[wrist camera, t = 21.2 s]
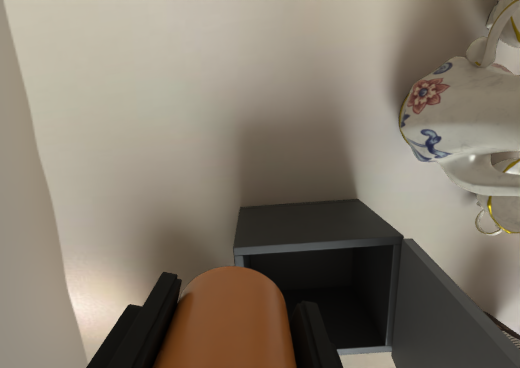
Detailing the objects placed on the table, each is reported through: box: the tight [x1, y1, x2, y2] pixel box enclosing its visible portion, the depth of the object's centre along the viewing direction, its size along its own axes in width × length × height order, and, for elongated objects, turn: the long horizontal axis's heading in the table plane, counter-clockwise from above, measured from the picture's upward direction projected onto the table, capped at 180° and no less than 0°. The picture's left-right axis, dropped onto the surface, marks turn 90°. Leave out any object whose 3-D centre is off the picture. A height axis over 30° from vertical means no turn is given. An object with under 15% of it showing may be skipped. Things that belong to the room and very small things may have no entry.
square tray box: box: [233, 199, 404, 355], centre depth 28 cm, size 15×13×10 cm
